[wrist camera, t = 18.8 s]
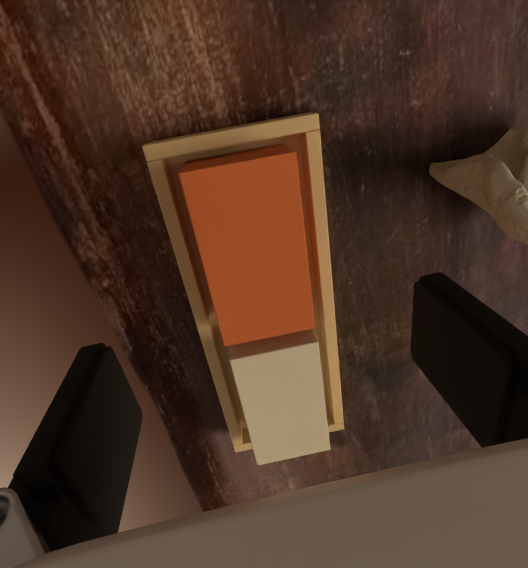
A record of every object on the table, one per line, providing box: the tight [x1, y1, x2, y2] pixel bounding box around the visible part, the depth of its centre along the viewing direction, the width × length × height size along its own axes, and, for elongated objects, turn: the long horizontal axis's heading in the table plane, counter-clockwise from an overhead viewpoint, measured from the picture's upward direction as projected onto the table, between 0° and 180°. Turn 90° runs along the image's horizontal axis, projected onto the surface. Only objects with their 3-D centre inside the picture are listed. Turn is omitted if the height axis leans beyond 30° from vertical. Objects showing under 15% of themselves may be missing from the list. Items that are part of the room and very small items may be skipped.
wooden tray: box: [142, 112, 344, 452], centre depth 24 cm, size 24×9×2 cm, turn 9°
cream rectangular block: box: [229, 329, 330, 465], centre depth 25 cm, size 10×6×4 cm, turn 9°
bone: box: [429, 127, 528, 245], centre depth 19 cm, size 9×6×10 cm
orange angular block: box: [179, 144, 315, 346], centre depth 20 cm, size 10×6×4 cm, turn 9°
